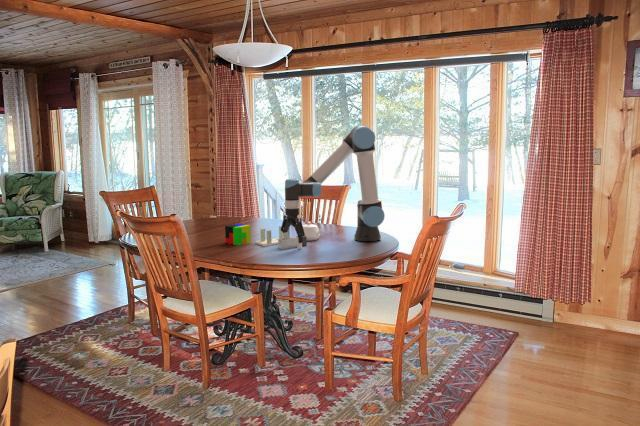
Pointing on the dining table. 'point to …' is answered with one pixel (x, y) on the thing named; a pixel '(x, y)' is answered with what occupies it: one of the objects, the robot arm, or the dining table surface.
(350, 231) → the dining table surface
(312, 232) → the teapot
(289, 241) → the bar
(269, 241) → the rack
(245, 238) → the puzzle toy
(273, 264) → the dining table surface
